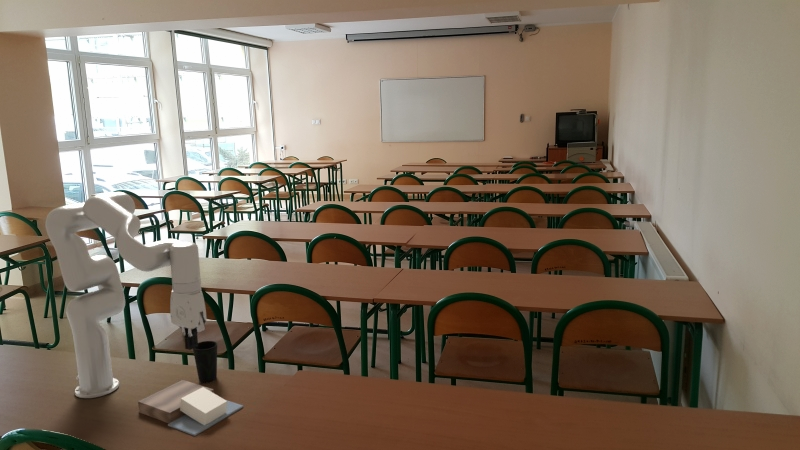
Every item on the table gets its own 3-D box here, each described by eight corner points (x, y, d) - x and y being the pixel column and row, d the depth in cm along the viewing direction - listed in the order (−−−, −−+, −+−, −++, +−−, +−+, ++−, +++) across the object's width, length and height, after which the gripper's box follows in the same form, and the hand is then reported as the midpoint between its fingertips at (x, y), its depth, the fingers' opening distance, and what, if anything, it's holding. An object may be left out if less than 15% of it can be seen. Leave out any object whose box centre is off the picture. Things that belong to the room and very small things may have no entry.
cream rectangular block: (180, 410, 166) (180, 398, 165) (202, 398, 173) (203, 387, 172) (204, 425, 161) (205, 413, 160) (226, 412, 168) (227, 401, 167)
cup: (212, 385, 187) (209, 350, 184) (191, 383, 188) (187, 349, 186) (224, 375, 194) (221, 341, 192) (203, 373, 196) (200, 340, 193)
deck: (139, 412, 170) (137, 401, 170) (183, 389, 184) (182, 379, 183) (170, 424, 164) (169, 412, 163) (214, 400, 177) (213, 389, 176)
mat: (167, 425, 163) (167, 424, 163) (217, 398, 178) (217, 397, 178) (194, 436, 157) (194, 434, 157) (243, 407, 172) (243, 405, 172)
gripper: (157, 286, 163) (163, 347, 166) (194, 293, 155) (199, 357, 159) (179, 279, 169) (184, 338, 172) (216, 286, 162) (220, 348, 165)
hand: (191, 347), depth 166 cm, fingers closed
